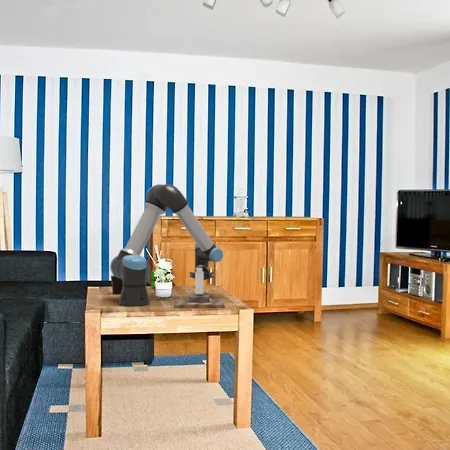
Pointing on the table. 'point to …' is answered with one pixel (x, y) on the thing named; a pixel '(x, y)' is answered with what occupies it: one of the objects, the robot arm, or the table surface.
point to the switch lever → (199, 281)
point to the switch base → (214, 304)
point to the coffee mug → (116, 284)
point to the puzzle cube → (155, 279)
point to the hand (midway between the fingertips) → (202, 278)
